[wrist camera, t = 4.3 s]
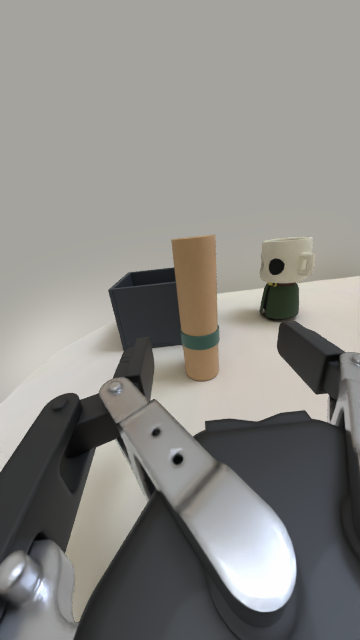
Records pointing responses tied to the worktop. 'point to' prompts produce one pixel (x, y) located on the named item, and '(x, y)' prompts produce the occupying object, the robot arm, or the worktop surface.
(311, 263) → the character mug
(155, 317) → the bin
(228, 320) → the worktop surface
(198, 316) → the banded cardboard tube
